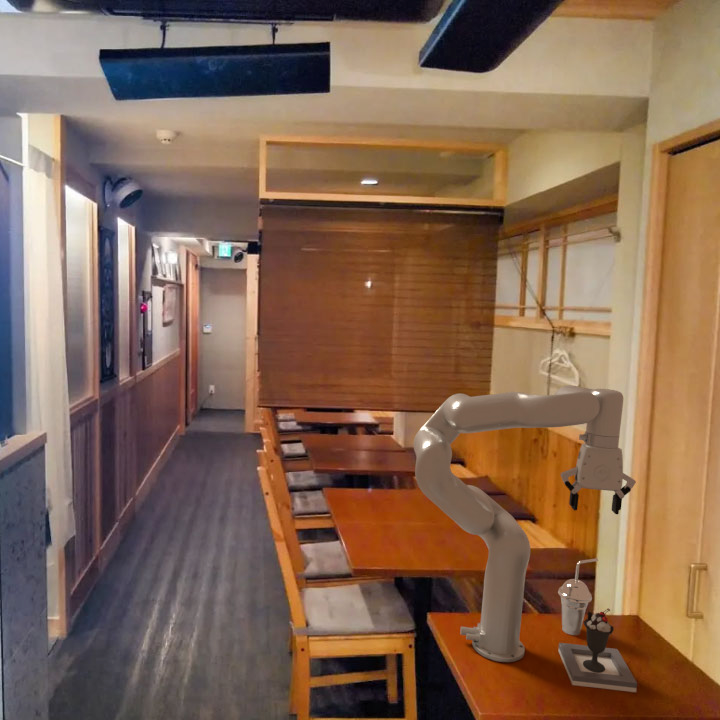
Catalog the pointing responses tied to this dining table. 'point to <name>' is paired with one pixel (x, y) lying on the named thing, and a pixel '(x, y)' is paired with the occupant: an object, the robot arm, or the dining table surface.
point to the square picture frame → (611, 678)
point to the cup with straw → (574, 602)
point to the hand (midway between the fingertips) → (594, 510)
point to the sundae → (597, 638)
